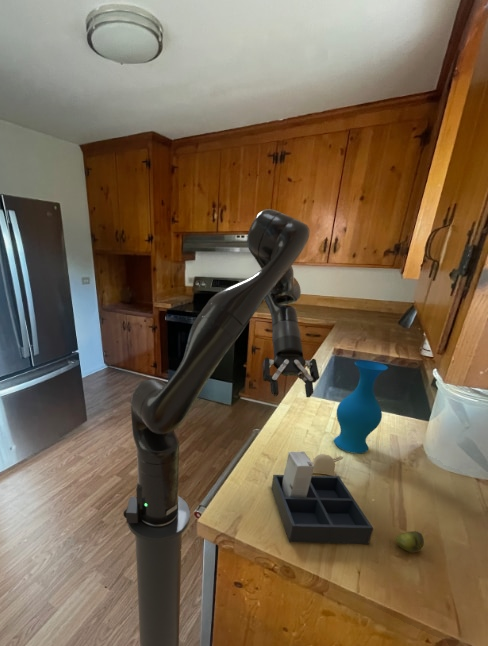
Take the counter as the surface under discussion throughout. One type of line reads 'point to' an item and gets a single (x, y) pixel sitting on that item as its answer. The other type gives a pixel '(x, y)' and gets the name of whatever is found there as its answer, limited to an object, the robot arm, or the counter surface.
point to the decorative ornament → (325, 464)
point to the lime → (411, 541)
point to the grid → (322, 513)
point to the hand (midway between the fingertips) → (292, 395)
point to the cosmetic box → (297, 475)
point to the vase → (359, 410)
